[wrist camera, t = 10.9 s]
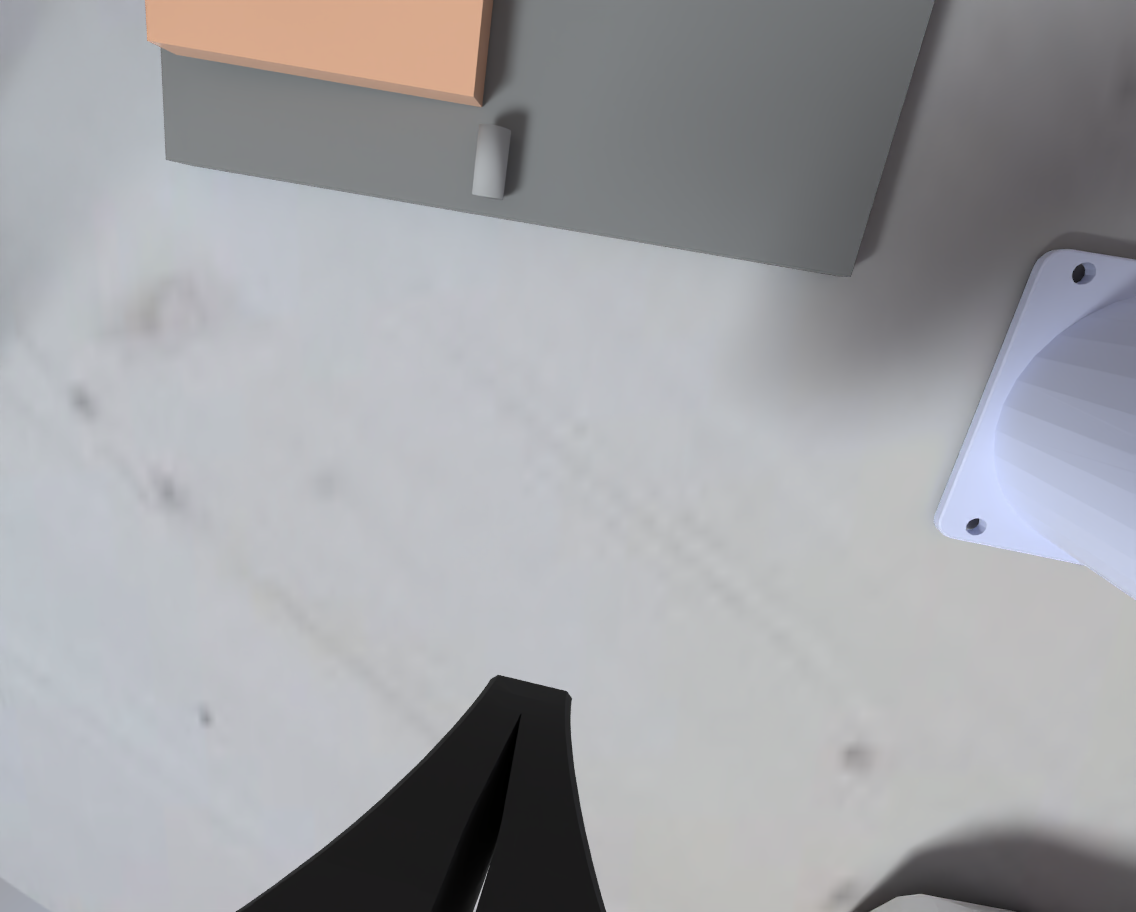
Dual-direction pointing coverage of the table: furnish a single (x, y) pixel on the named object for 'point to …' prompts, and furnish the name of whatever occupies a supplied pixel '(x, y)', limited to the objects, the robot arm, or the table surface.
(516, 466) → the table surface
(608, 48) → the mat
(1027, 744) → the table surface
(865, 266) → the table surface
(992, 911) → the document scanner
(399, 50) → the tile
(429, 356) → the table surface
